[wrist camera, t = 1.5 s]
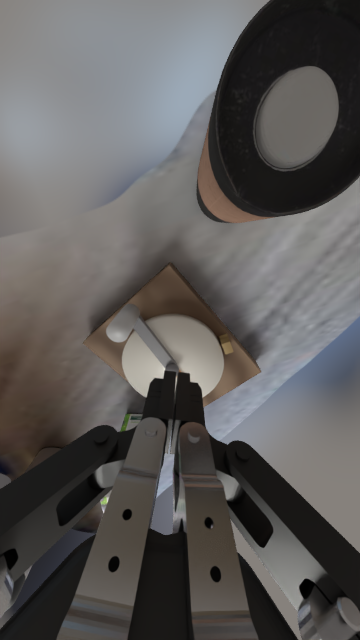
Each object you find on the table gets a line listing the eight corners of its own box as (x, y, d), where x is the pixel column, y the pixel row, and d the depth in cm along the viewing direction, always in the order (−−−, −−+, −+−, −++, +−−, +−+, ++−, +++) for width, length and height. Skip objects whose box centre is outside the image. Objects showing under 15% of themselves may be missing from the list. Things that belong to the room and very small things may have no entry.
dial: (89, 326, 32) (59, 356, 24) (173, 271, 28) (169, 286, 21) (161, 408, 37) (155, 452, 30) (238, 371, 34) (253, 410, 27)
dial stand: (177, 410, 42) (176, 435, 37) (90, 334, 36) (75, 351, 31) (255, 361, 37) (266, 381, 32) (170, 261, 31) (167, 268, 26)
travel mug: (246, 142, 25) (411, -94, 7) (261, 210, 28) (408, 174, 9) (185, 171, 26) (183, 40, 8) (205, 233, 29) (239, 242, 11)
